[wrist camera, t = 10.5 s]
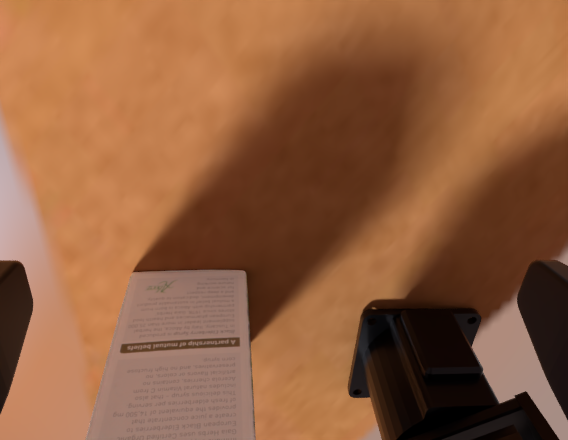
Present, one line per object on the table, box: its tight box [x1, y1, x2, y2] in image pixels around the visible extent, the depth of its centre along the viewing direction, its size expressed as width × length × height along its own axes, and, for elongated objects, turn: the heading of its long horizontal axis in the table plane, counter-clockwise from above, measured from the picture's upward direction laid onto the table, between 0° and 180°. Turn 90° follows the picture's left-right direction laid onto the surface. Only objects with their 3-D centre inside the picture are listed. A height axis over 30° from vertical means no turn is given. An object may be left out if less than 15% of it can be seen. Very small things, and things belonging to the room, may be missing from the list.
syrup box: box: [86, 270, 256, 440], centre depth 19 cm, size 6×6×14 cm
